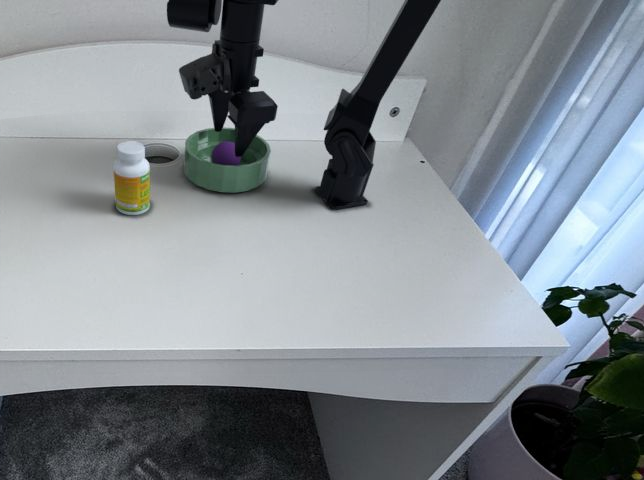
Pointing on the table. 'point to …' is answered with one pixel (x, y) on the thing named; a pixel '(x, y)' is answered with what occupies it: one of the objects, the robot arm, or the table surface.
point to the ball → (225, 154)
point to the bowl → (225, 176)
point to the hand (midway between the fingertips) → (227, 143)
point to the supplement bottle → (132, 178)
